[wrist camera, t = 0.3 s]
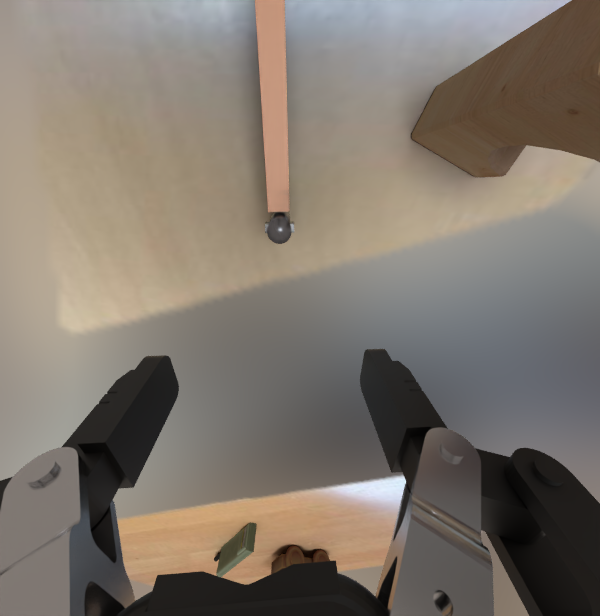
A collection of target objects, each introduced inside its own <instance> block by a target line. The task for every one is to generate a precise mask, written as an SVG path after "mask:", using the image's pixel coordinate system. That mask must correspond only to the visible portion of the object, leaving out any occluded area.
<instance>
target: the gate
mask: <svg viewBox="0 0 600 616" xmlns="http://www.w3.org/2000/svg"><path fill="white" fill-rule="evenodd" d="M255 9H256V25H257V41H258V57H259V73H260V89H261V105H262V121H263V137H264V153H265V169H266V185H267V201H268V212H290V208H289V166H288V124H287V82H286V41H285V0H255Z"/></svg>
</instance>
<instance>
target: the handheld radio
mask: <svg viewBox="0 0 600 616" xmlns="http://www.w3.org/2000/svg"><path fill="white" fill-rule="evenodd" d="M255 534H256V524H255V523H249V524H248V525H246V526H245V527H244V528H243V529H242V530H241V531H240V532H238V533H237V534H236V535H235V536H234V537H233V538H232V539H230V540H229V541H228V542H227V543H226V544H225V545H224V546H223V547H222V548H221V552H220V553H219V554H218V555H217V556H215V558H214V561H217V560H219V563H218V568H217V576H218V577H222V576H223V575H224V574H226V573H227V572H228V571H229V570H231V569H232V568H233V567H235V566H236V565H237V564H238V563H240V562H241V561H242V560H243V559H245V558H246V557H247V556H249V555H250V554H251V553H252V552H254V543H255Z"/></svg>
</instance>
